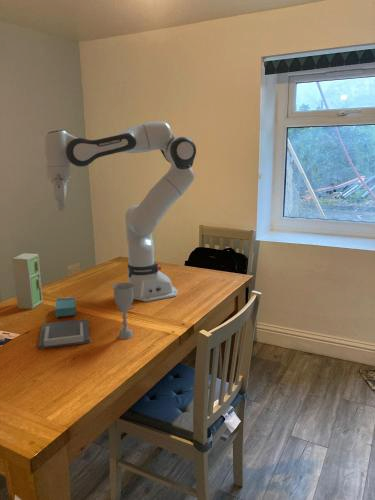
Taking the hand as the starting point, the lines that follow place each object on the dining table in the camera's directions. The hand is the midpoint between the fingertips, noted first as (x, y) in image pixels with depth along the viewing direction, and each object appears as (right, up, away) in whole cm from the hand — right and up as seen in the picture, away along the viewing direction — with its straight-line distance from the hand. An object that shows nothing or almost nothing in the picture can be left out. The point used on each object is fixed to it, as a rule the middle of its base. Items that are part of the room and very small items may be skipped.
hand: (61, 209), depth 155 cm
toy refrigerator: (-14, -39, +5) cm, 42 cm away
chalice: (+29, -46, -21) cm, 58 cm away
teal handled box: (+3, -41, -3) cm, 41 cm away
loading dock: (+7, -46, -19) cm, 51 cm away
